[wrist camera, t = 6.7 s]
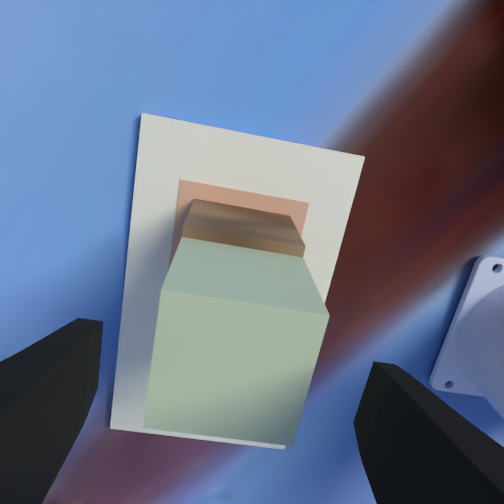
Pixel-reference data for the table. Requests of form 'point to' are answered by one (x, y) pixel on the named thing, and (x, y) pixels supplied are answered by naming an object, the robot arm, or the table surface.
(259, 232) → the walnut block
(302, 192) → the build mat
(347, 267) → the table surface
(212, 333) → the sage block
